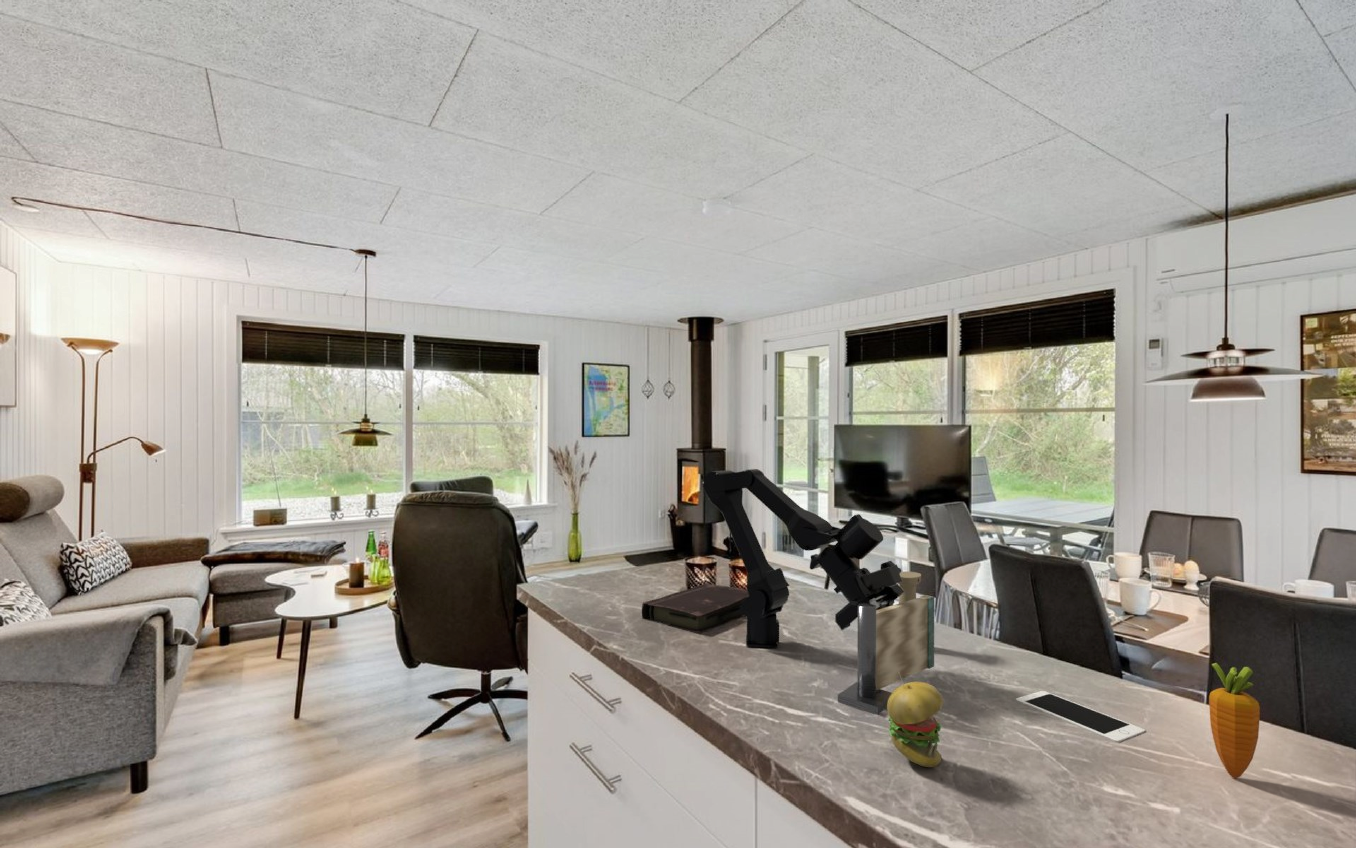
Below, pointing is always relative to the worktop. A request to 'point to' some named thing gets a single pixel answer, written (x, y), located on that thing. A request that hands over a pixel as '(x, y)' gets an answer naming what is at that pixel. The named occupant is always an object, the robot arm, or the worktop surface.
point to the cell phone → (1081, 716)
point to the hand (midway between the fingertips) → (901, 644)
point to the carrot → (1234, 720)
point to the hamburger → (915, 722)
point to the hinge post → (866, 667)
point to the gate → (904, 640)
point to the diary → (697, 607)
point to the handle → (909, 585)
